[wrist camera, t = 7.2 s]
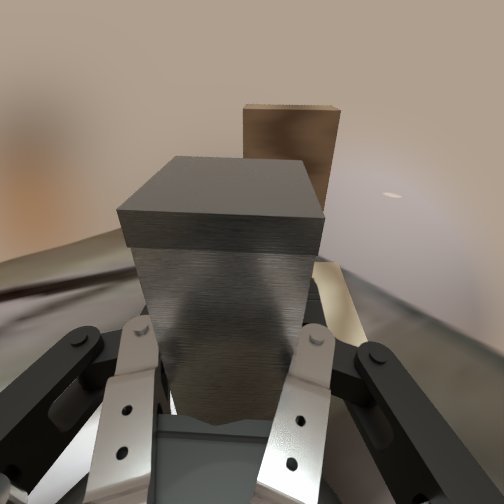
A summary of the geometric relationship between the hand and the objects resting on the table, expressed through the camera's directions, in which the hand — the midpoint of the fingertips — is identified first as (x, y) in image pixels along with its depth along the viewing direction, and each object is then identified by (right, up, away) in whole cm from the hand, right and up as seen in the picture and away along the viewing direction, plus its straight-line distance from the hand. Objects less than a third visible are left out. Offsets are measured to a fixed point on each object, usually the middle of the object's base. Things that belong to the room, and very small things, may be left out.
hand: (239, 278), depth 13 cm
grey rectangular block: (0, -7, +2) cm, 8 cm away
